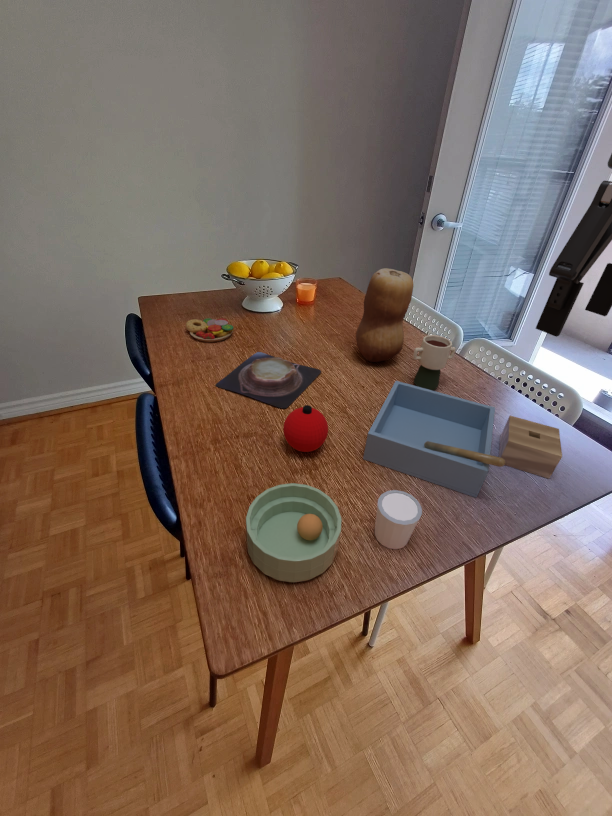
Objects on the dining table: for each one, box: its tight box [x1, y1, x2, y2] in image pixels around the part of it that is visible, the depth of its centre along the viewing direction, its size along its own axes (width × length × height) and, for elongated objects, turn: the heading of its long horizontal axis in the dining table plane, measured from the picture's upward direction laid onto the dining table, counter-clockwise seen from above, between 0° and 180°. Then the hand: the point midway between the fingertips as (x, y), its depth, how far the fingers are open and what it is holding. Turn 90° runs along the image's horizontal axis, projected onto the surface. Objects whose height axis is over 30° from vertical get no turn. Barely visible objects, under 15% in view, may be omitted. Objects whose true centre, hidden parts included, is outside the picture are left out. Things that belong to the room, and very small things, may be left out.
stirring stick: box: [424, 441, 506, 468], centre depth 75 cm, size 2×2×18 cm
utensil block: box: [498, 415, 563, 480], centre depth 82 cm, size 10×10×6 cm
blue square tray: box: [362, 380, 496, 499], centre depth 83 cm, size 22×22×7 cm
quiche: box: [215, 351, 322, 409], centre depth 102 cm, size 21×20×4 cm
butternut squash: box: [355, 267, 414, 363], centre depth 108 cm, size 14×13×25 cm
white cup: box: [374, 489, 423, 550], centre depth 63 cm, size 7×7×7 cm
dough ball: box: [297, 514, 323, 540], centre depth 62 cm, size 4×4×4 cm
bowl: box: [245, 482, 343, 583], centre depth 61 cm, size 14×14×6 cm
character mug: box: [412, 334, 457, 391], centre depth 101 cm, size 11×7×13 cm, turn 99°
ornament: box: [282, 404, 329, 453], centre depth 79 cm, size 9×9×10 cm
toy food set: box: [185, 317, 234, 343], centre depth 121 cm, size 13×13×3 cm
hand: (572, 322), depth 53 cm, fingers open, 13 cm apart
